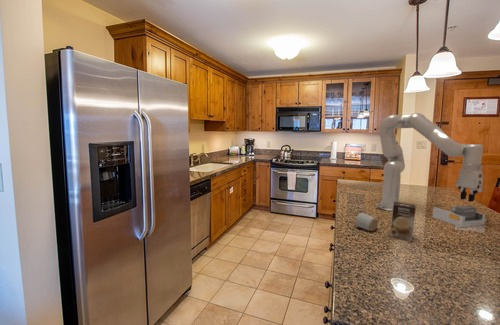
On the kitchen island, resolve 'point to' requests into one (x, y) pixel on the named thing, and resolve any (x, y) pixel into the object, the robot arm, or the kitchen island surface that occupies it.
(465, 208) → the panel
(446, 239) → the kitchen island surface
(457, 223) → the rack
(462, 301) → the kitchen island surface
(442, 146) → the robot arm
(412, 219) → the coffee box
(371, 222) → the grey short cylinder
